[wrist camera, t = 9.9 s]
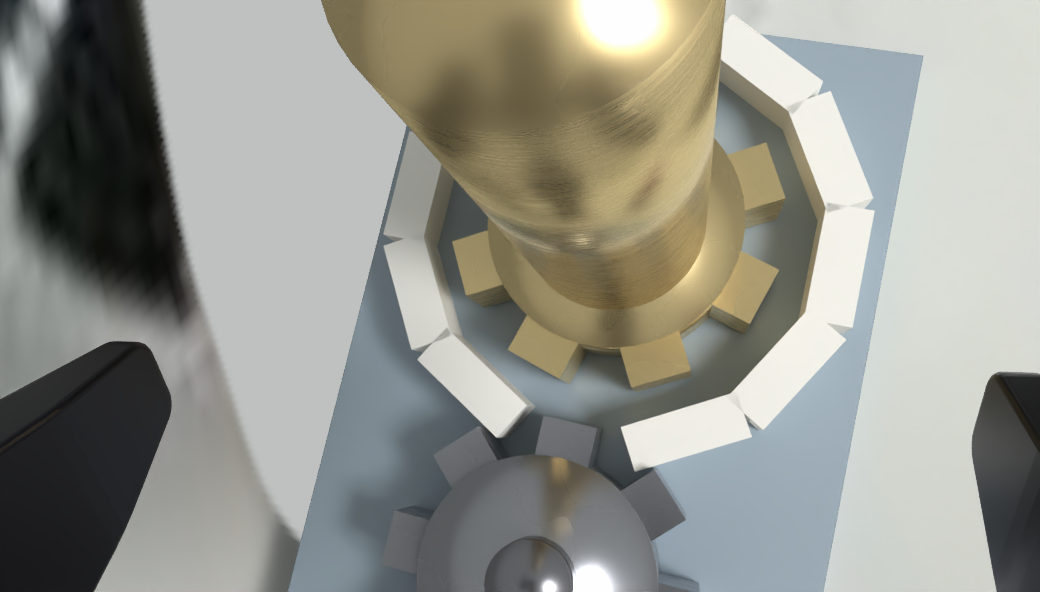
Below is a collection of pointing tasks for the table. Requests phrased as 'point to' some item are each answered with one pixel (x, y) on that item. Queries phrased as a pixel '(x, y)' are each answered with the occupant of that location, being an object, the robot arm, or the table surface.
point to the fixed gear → (537, 521)
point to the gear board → (603, 379)
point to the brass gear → (581, 165)
